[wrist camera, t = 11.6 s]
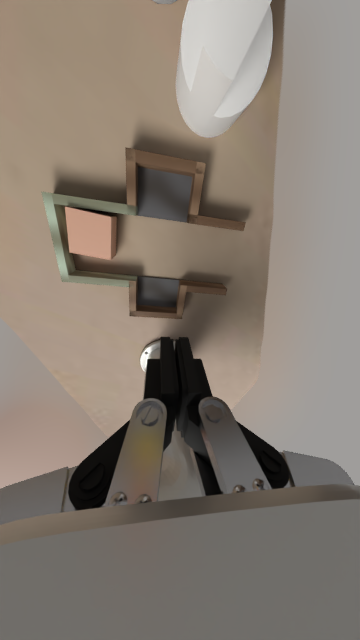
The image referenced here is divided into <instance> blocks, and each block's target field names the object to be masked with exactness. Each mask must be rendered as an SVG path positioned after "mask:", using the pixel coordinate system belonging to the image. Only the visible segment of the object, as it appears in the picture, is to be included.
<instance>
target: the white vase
mask: <svg viewBox="0 0 360 640" xmlns="http://www.w3.org/2000/svg"><path fill="white" fill-rule="evenodd" d="M271 1H272V0H189V1H188V4H187V8H186V12H185V16H184V20H183V24H182V33H181V41H180V49H179V57H178V65H177V75H176V95H177V102H178V105H179V109H180V113H181V115H182V117H183V119H184V121H185V123H186V124H187V125H188V126H189V128H190V129H191V130H192V131H193V132H195V133H196V134H198V135H199V136H202V137H206V138H211V137H217V136H219V135H221V134H223V133H224V132H225V131H226V130H228V129H229V128H230V127H231V126H232V125H233V123H234V122H235V121H236V120H237V118H238V117H239V116H240V115H241V114H242V112H243V111H244V110H245V109H246V108H247V106H248V105H249V104H250V103H251V101H252V100H253V98H254V97H255V95H256V94H257V92H258V91H259V89H260V87H261V85H262V82H263V80H264V78H265V75H266V73H267V69H268V65H269V61H270V57H271V50H272V40H273V23H272V12H271V7H270V3H271Z"/></svg>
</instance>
